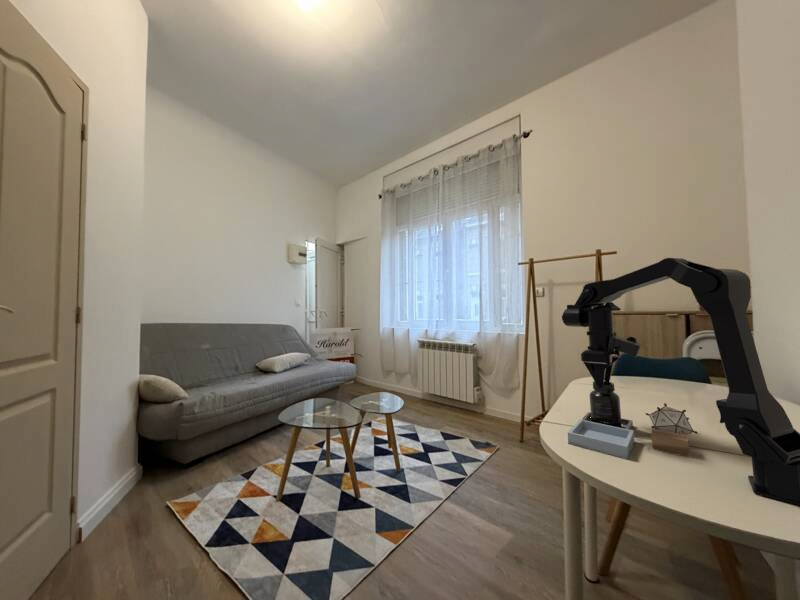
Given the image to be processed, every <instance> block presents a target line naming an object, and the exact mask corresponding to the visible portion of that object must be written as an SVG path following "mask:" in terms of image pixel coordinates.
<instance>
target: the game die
mask: <svg viewBox="0 0 800 600" xmlns="http://www.w3.org/2000/svg"><path fill="white" fill-rule="evenodd" d="M656 407H657V408H656V409H657V410H655V411H653V412H651V413H650V414H649V413H648V412H646V413H645V415H646V416H649V420H650V421H651V423H652V425H651V429H657V430H662V431H668V432H673V433H678V434H683V435H690V434H693V433H694V434H696V435H697V434H699V432H698V431H696V430H694V429H693V427H692V425H691V423H690V421H689V420H690V418H689V417H688V416H686V414H685V413H686V412H687V409H683V410H682V411H681V410H679V409H676V408H673V407H669V406H668V404H667V403H665V402H664V403H663V407H660V406H656Z"/></svg>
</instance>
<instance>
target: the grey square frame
mask: <svg viewBox="0 0 800 600" xmlns="http://www.w3.org/2000/svg"><path fill="white" fill-rule="evenodd" d="M590 417H591V411H588V412H587V413H586V414H584V416H583V417H582V418H581V419H580V420H585V421H590V419H591V418H590ZM589 418H590V419H589ZM621 423H622V426H625V429H628V430H633V427H634V424H633V423H634V421H633V420H631V419H626V418H622V417H621Z"/></svg>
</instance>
